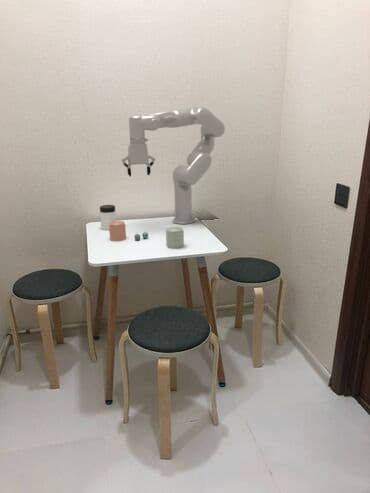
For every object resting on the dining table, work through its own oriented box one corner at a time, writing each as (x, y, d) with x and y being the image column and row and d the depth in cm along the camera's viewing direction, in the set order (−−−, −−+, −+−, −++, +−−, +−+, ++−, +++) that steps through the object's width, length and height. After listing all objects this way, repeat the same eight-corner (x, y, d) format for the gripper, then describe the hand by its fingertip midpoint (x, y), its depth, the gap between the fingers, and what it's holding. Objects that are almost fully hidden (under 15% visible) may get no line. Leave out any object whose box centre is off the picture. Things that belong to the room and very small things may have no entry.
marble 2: (148, 231, 194) (149, 237, 194) (146, 232, 197) (147, 238, 196) (142, 231, 193) (143, 237, 192) (141, 233, 196) (142, 239, 195)
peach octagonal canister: (124, 235, 200) (123, 220, 197) (126, 239, 193) (125, 224, 190) (109, 237, 198) (108, 221, 195) (111, 241, 191) (110, 225, 188)
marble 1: (140, 232, 192) (142, 238, 192) (136, 234, 194) (138, 240, 194) (136, 233, 190) (138, 239, 190) (132, 235, 192) (134, 241, 192)
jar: (111, 224, 219) (109, 203, 216) (120, 227, 214) (118, 206, 210) (97, 228, 213) (95, 206, 209) (106, 231, 208) (105, 208, 204)
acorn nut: (180, 242, 188) (180, 226, 185) (185, 247, 181) (184, 230, 178) (165, 244, 186) (164, 227, 183) (169, 249, 179) (168, 232, 176)
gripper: (152, 140, 204) (154, 173, 209) (119, 141, 199) (121, 175, 205) (155, 141, 197) (157, 175, 203) (121, 142, 193) (123, 177, 198)
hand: (139, 175), depth 204 cm, fingers open, 9 cm apart
